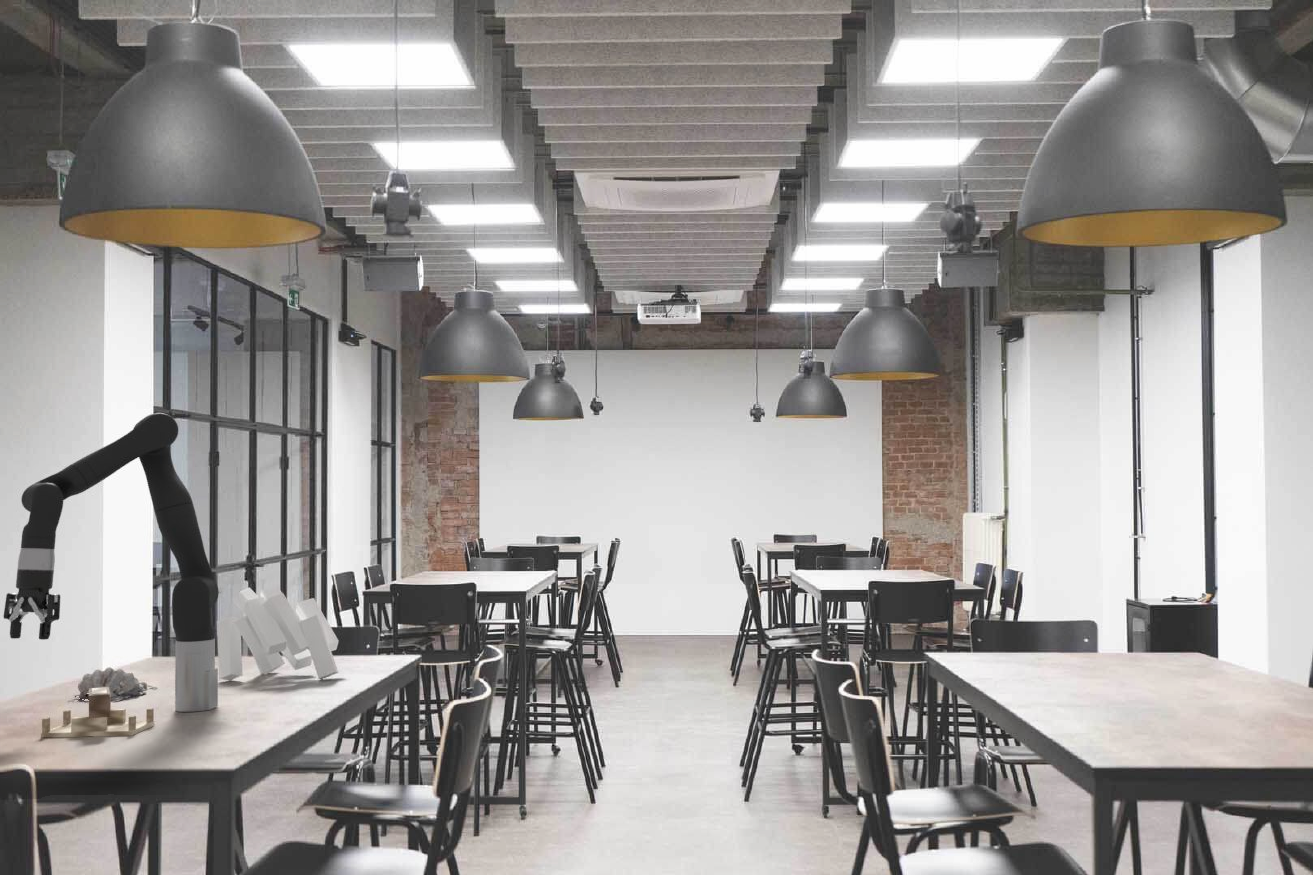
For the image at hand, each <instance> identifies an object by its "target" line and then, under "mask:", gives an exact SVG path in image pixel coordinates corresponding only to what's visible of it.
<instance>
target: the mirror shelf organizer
mask: <svg viewBox="0 0 1313 875" xmlns="http://www.w3.org/2000/svg"><path fill="white" fill-rule="evenodd" d="M126 711H127V709H126V708H113V709H112V708H111V709H110V717H101V718H90V719H89V716H75V717H72V714H71V713H72V710H71V709H67V710H63V712H62V716H63V717H62V724H61V725H59V726H56V727H54V728H51V717H43V718H42V719H41V732H40V738H41V737H53V738H83V737H82V736H94V737H115V736H116V737H121V736H123V737H125V736H126V737H127V736H128V737H130V736H131V737H133V736H134V735H136V734H139V733H141V732H143V731H145V730H148V729H149V728H152V727H154V726H155V720H154V711H155V710H154V707H151V708H146V720H137V715H130V716H128V721H126V720H127V719H126V717H127V716H126V715H127V714H126V713H127V712H126Z"/></svg>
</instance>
